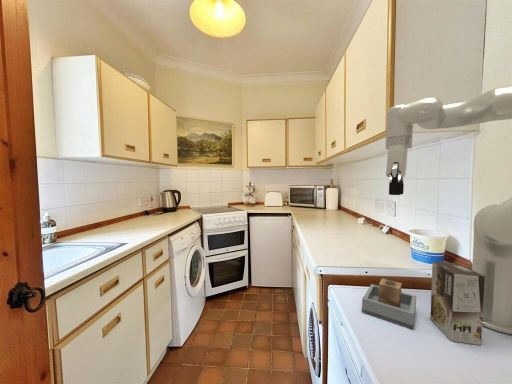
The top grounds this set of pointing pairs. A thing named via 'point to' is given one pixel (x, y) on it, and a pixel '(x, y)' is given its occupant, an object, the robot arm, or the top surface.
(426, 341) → the top surface
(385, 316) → the tray
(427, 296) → the top surface
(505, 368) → the top surface
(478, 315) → the coffee box
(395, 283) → the walnut block
